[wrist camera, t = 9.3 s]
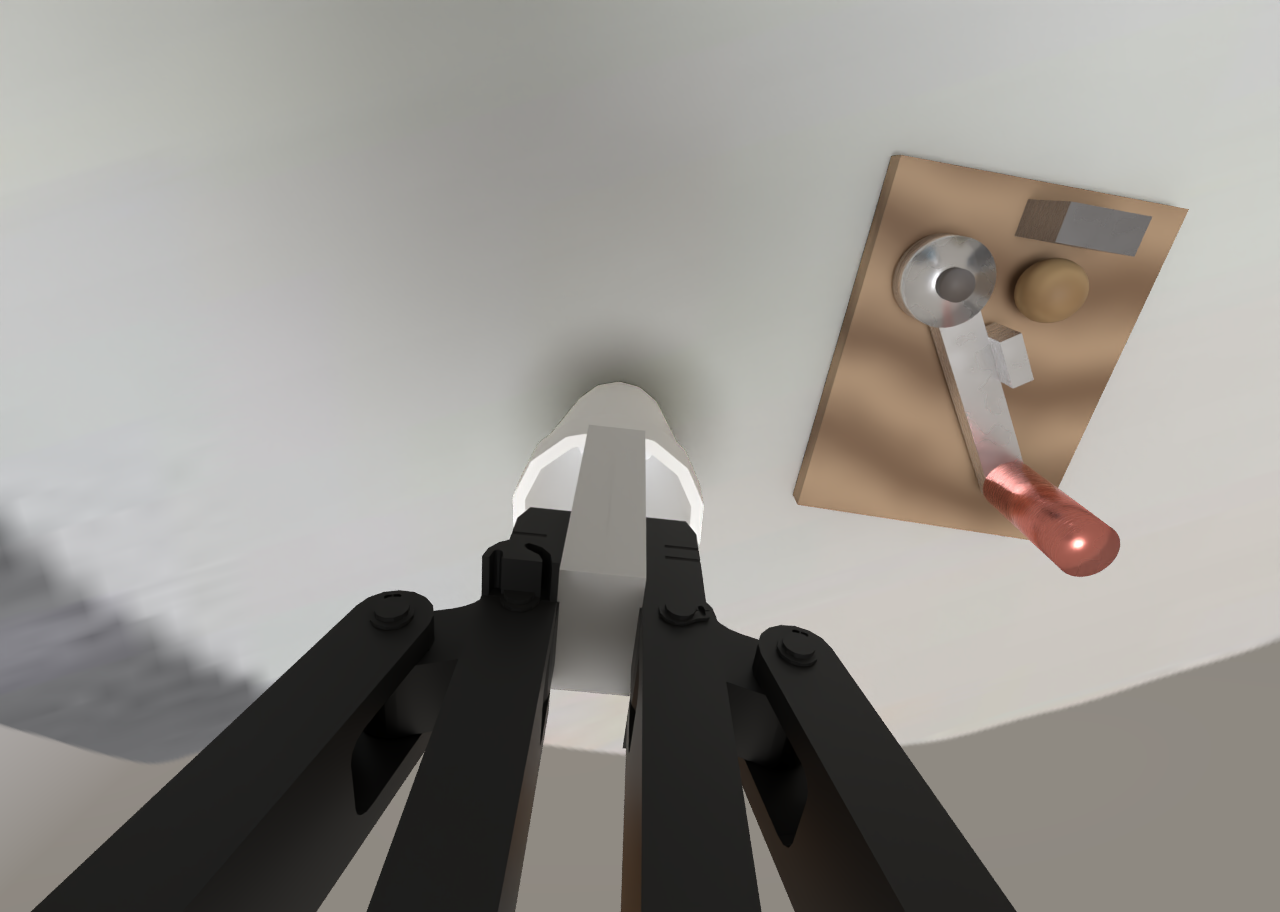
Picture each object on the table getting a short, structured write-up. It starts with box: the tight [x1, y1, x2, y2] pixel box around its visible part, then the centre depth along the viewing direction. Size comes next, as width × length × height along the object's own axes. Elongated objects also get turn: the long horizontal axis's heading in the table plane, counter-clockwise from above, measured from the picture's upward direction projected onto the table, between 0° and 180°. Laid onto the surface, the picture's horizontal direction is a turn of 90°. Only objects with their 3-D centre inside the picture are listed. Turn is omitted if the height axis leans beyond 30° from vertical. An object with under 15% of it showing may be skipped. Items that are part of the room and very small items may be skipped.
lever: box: [893, 233, 1120, 577], centre depth 36 cm, size 18×5×10 cm, turn 26°
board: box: [793, 155, 1189, 540], centre depth 40 cm, size 22×17×5 cm
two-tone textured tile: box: [1015, 199, 1152, 257], centre depth 35 cm, size 2×4×4 cm, turn 80°
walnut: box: [1014, 258, 1089, 323], centre depth 37 cm, size 4×4×4 cm
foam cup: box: [513, 382, 704, 545], centre depth 38 cm, size 10×9×13 cm
